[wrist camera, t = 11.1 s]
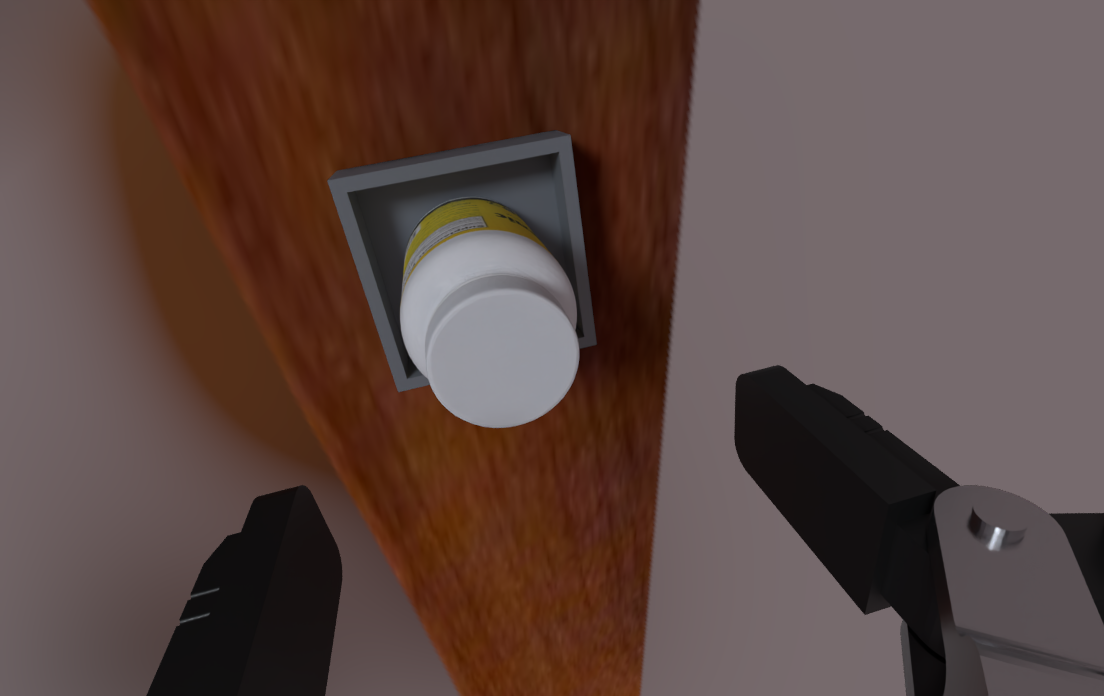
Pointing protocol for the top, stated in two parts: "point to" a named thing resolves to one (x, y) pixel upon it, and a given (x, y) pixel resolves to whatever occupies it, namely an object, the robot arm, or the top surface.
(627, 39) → the top surface
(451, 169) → the tray
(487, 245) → the supplement bottle
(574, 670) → the top surface
